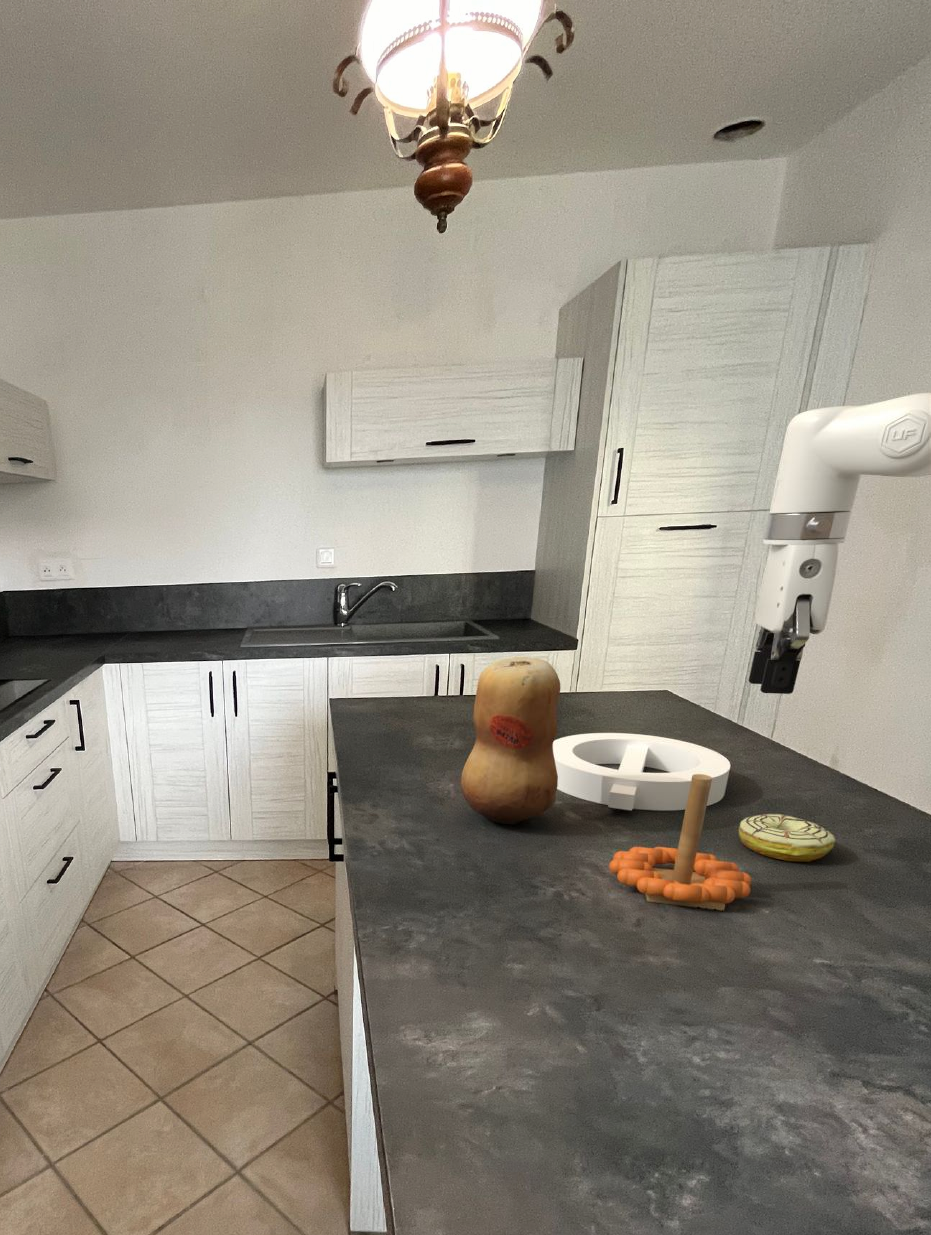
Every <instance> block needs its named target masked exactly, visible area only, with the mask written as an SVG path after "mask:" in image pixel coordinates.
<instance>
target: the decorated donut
mask: <svg viewBox="0 0 931 1235" xmlns="http://www.w3.org/2000/svg"><path fill="white" fill-rule="evenodd" d="M738 836H739V840H740V842H741V843H742V844H743V845H744V846H745V847H747V848H748V849H749V850H752V851H753V852H754V853H756V854H759V855H761V856H764V857H767V858H770V859H776V860H782V861H785V862H795V863H803V862H804V863H810V862H812V861H816V860H819V859H821V858H823V857H825V856H826V855H827V854H829V852H830V851H831V850H832V849H834V846H835V842H836V837H835V835H834V834H833V833H831V832H830V831H829V830H827V829H825V828H824V827H822V826H820V825H819V824H817V823H814V822H812V821H811V820H808V819H807V820H806V819H803V818H798V817H794V816H790V815H785V814H779V813H766V814H758V815H751V816H748V817H746V818H744V819H743V820H741V821H740V823H739V827H738Z"/></svg>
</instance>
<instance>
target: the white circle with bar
mask: <svg viewBox="0 0 931 1235" xmlns="http://www.w3.org/2000/svg"><path fill="white" fill-rule="evenodd" d="M553 754H554V759H555V764H556V769H557V775H558V786H557V790H558V791H560V792H562V793H565V794H567V795H569V796H573V797H575V798H577V799H581V800H585V801H588V802H592V803H597V804H602V805H607V808H612V809H618V810H624V811H633V810H642V811H643V810H644V811H685V810H686V805H687V799H688V794H689V789H690V784H691V779H692V775H695V774H703V775H708V776H710V777H712V782H711V786H710V791H709V796H708V801H707V806H706V807H709V806H711V805H714V804H716V803H718V802H720V801H721V800H722V799H723V798H725V797H724V796H725V793H726V789H727V784H728V781H729V780H728V779H729V776H730V770H731V763H730V761H729V759H727V757H726V756H725V755H722V754H721V753H719V752H718V751H715V750H713V749H710V748H708V747H705V746H702V745H699V744H696V743H692V742H687V741H683V740H679V739H675V738H669V737H662V736H658V735H657V736H656V735H649V734H648V735H647V734H637V733H624V732H592V733H580V734H573V735H568V736H563V737H560V738H557V739H555V740H554V742H553ZM608 764H610V765H619V767H618V769H616V768H611V767H607V766H601V765H608ZM645 767H646V768H650V769H656V770H661V771H665V772H644V769H645Z"/></svg>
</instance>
